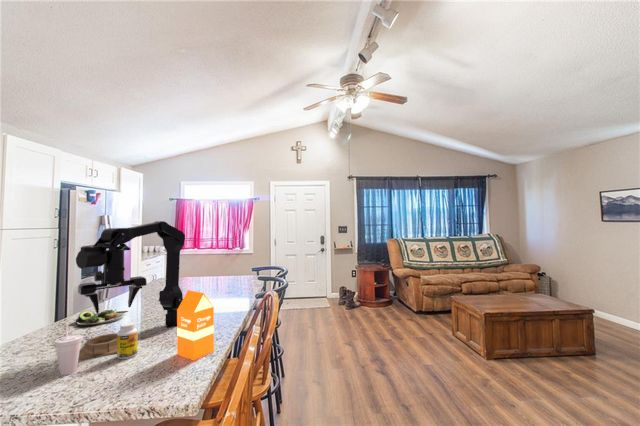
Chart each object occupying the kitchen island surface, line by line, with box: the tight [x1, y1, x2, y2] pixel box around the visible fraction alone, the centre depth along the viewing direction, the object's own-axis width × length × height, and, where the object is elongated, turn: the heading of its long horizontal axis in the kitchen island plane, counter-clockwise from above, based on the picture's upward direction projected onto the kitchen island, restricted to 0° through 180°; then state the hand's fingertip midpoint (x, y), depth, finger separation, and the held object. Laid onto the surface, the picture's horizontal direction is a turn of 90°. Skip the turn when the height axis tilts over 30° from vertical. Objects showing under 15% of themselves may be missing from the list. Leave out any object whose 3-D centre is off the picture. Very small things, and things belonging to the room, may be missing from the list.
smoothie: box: [53, 322, 84, 376], centre depth 86 cm, size 6×6×14 cm
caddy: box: [78, 332, 117, 361], centre depth 101 cm, size 14×12×4 cm
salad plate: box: [75, 309, 129, 328], centre depth 134 cm, size 19×18×5 cm
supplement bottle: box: [116, 321, 139, 360], centre depth 96 cm, size 6×6×10 cm
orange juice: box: [176, 289, 215, 361], centre depth 98 cm, size 8×9×20 cm
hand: (113, 310), depth 102 cm, fingers open, 9 cm apart
